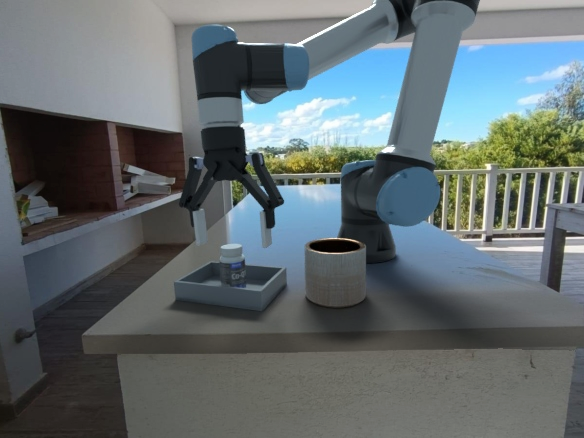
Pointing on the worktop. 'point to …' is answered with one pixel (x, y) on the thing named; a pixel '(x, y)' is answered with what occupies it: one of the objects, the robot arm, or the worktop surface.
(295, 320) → the worktop surface
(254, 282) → the grey tray
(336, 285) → the planter
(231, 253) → the pill bottle
